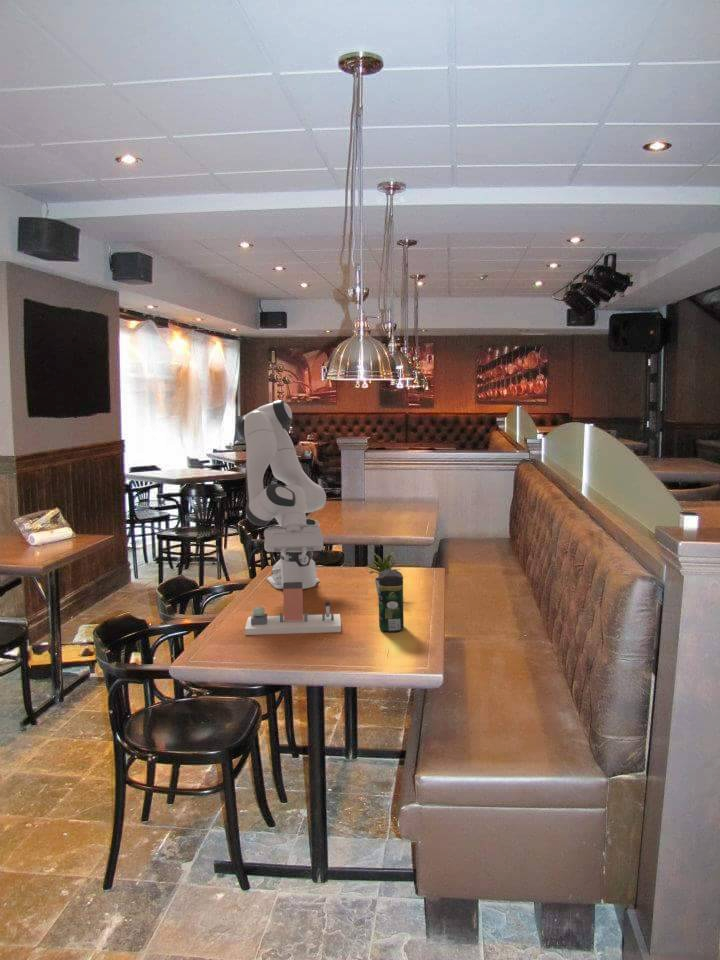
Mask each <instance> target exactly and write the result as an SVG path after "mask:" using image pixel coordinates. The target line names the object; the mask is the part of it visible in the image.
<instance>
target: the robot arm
mask: <svg viewBox="0 0 720 960" xmlns="http://www.w3.org/2000/svg"><path fill="white" fill-rule="evenodd" d="M293 418H294V417H293V411H292V409H291V407H290V406H289V404H288V403H287V402H286V401H285V400H282V399H280V400H279V399H277V400H275V401H274V400H273V402H270V403H266V404H264V405H261V406H259V407H258V408H256V409H253V410H252V411H250V412H247V414H243V415H241V416H240V417H239V418H238V419H237V421H236V428H237V431H238V434H239V435H240V437H241V438H242V439H243V440H244V441H245V447H246V448H245V449H246V460H245V461H246V462H245V485H246V505H245V508H244V509H245V515H246V517H247V519H248V520H249V522H250V523H252V524H253V525H255V526H258V527H266V526H268V525H269V524H270V522H271V521H272V520H273V519H275V520H276V521H277V523H278V525H279V526H268V527H267V528H265V529H264V531H263V537H264V542H263V543H264V544H263V545H264V546H263V548H264V550H265V551H266V552H267V553H280V557H279V558H280V559H279V560H278V561H277V562H276V563H274V564H273V566H272V569H271V574H272V575H270V576H267V578H266V581H267V582H268V583H269V584H270V585H271V586H273V588H275V589H276V590H281V589H282V590H283V583H284V582H302V590H305V589H310V588H313V587H315V586H316V585H317V583H319V582H320V579H319V578H318V577H317V568H316V562H315V561H314V560H313V553H314V552H313V551H315V552H317V551H319V552H321V551H323V549H324V539H323V532H322V530H321V528H320V522H319V521H318V520H317V519H312V518H310V517H309V518H308V517H307V515H306V513H307V514H308V513H314V512H316V511H319V510H321V509H323V508H324V507H325V505H326V502H327V494H326V492H325V490H324V488H323V486H321V485H320V484H317V483H316V482H315V481H313V480H312V479H311V478H310V477H309V476H308V475H307V474H306V473H305V471H304V470H303V468H302V465H301V463H300V461H299V458H298V454H297V451H296V449H295V446H294V442H293V440H292V438H291V437H290V435H289V433H288V431H289V430H290V426H291V425H292V422H293ZM269 466H270V469H271V471H272V475H273V477H274V478H275V479H276V480H277V481H281V482H283V483H284V484H285V485H286V486H285V485H282V484H279V483H270V484H269V485H267V486H266V487H265V488H264V475H265V473H266V470H267V469H268V467H269Z"/></svg>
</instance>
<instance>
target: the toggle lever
mask: <svg viewBox="0 0 720 960" xmlns="http://www.w3.org/2000/svg"><path fill="white" fill-rule="evenodd" d="M324 605H325V614H326V617H330V614H331V611H330V606H331V601H329V600H326V601H325V603H324Z"/></svg>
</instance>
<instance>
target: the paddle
mask: <svg viewBox="0 0 720 960" xmlns="http://www.w3.org/2000/svg"><path fill="white" fill-rule="evenodd" d="M282 590H283V616H284V620H303V615H304V602H303V601H304V599H303V598H304V597H303V596H304V595H303V590H304V589H302V582H284V583H283V589H282Z"/></svg>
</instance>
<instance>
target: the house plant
mask: <svg viewBox="0 0 720 960" xmlns="http://www.w3.org/2000/svg"><path fill="white" fill-rule="evenodd" d="M393 554H394V551H392V552H391V553H390V554H388V553H387V552H386V553H385V556H384V558H383V559H382V558H381V557H380V556H379V555H378V554H376V553H374V552H373V555H374V556H376V558H377V561H375V560H374V559H372V558H369V557H368V560H370V561H372V562H374V563H373V565H374V566H371V565H364V567H366V568H369V570H371V571H368V572H367V574H368V575H371V574H374V573H375V574H376V575H377V574H378V575H379V573H381V572H382V571H384V570H391V569H393V566H394V565H395V564H396V563H397V562H398V560H397V557H395V555H393ZM373 570H374V571H373ZM395 570H397V571H399V570H400V571H402V570H401V568H398V569H395ZM378 578H379V576H377V577H375V578H374V582H375V588H376V593H377V595H378V580H379V579H378Z"/></svg>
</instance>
